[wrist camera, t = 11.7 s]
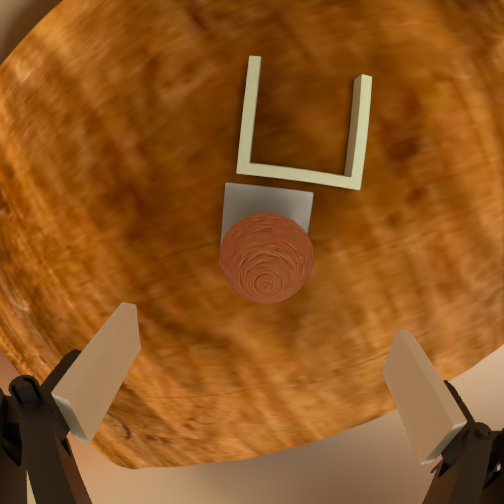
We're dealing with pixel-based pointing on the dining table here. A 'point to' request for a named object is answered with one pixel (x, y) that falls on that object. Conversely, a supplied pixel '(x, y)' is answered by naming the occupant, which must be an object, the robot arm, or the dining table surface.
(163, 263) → the dining table surface
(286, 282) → the mushroom
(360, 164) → the cream u-shaped piece
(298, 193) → the coaster
